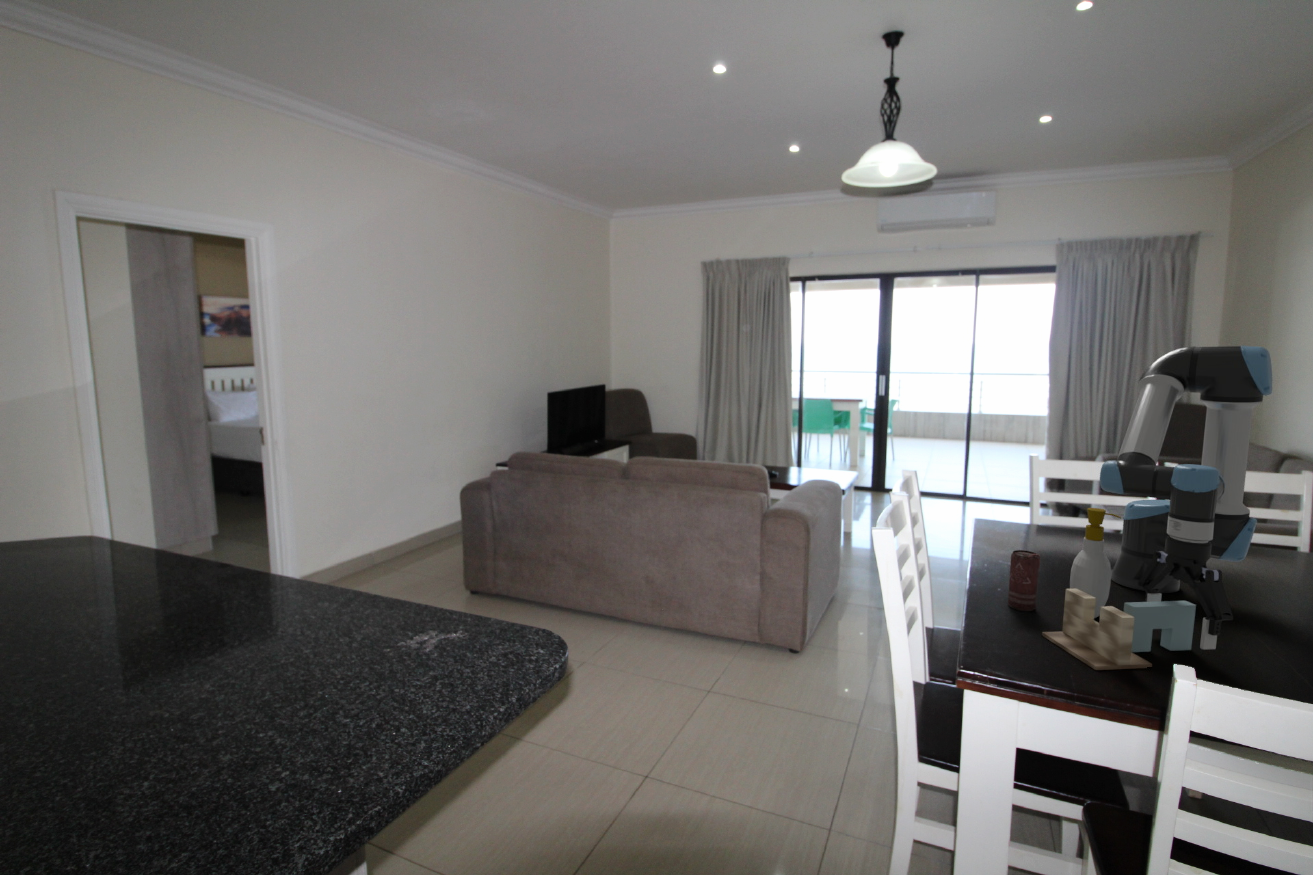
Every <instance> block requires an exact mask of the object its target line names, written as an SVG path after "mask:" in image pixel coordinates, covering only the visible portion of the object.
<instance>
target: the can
mask: <svg viewBox="0 0 1313 875" xmlns="http://www.w3.org/2000/svg"><path fill="white" fill-rule="evenodd" d="M1040 567H1041V555H1040V554H1038V553H1036V552H1033V551H1029V550H1022V549H1021V550H1020V549H1019V550H1018V549H1016V550H1013V551H1012V553H1011V555H1010V565H1009V569H1010V570H1009V577H1008V578H1009V579H1008V580H1009V583H1008V593H1007V594H1008V595H1007V604H1008V606H1009V607H1010V608H1011V609H1012V610H1013V609H1014V610H1016V611H1020V612H1032V611H1034V610H1035V609H1036V607H1037V595H1038V580H1039V569H1040Z"/></svg>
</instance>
